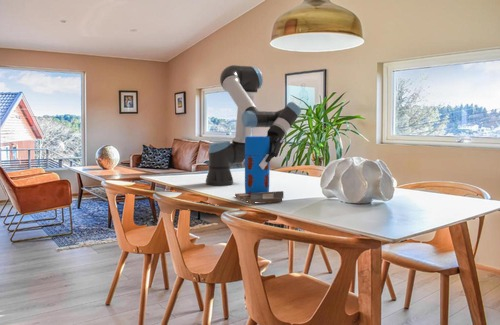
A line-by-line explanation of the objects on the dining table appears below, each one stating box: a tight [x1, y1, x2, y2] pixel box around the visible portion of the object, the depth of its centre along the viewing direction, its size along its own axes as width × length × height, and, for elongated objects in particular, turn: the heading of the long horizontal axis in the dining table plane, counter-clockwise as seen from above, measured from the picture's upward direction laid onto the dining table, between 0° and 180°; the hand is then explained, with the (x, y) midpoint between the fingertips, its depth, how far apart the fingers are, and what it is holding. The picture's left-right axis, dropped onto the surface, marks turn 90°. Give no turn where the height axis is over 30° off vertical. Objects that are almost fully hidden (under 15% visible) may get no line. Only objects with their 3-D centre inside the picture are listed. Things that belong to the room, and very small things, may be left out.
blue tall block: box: [244, 135, 271, 195], centre depth 194 cm, size 11×11×25 cm
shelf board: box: [234, 190, 284, 204], centre depth 195 cm, size 19×15×4 cm
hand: (252, 166), depth 192 cm, fingers closed on blue tall block, 11 cm apart
